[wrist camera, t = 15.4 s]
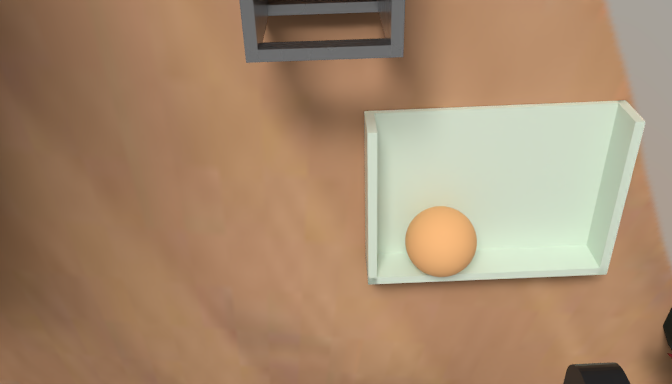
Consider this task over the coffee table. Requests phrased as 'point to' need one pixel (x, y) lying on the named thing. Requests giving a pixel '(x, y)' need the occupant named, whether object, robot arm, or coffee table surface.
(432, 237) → the ball
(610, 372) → the robot arm
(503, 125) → the tray
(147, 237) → the coffee table surface
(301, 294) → the coffee table surface
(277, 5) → the grey hollow box
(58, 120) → the coffee table surface
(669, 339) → the wine bottle
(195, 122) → the coffee table surface
